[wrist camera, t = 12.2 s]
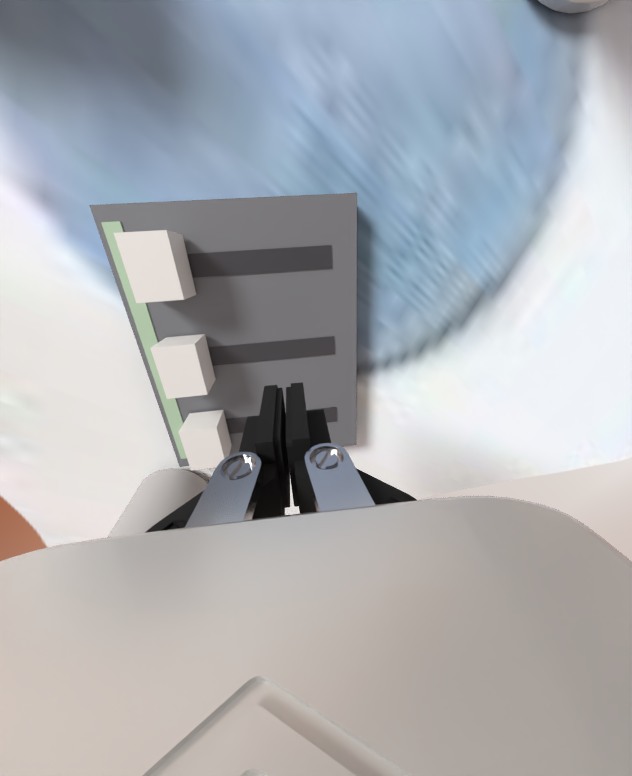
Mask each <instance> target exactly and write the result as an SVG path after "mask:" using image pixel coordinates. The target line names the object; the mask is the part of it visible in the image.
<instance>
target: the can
mask: <svg viewBox="0 0 632 776" xmlns="http://www.w3.org/2000/svg"><path fill="white" fill-rule="evenodd" d="M206 486H207V483H206V482H205V480H204V479H203V478H201V477H200V476H198V475H197V474H195V473H193V472H191V471H188V470H185V469H173V468H170V469H163V470H159V471H156V472H154V473H152V474H150V475H149V476H148V477H146V478H145V479H144V480H143V481H142V483H141V485H140V486H139V488H138V489H137V491H136V493H135V494H134V496H133V497H132V499H131V500H130V502H129V504H128V505H127V507H126V508H125V510H124V512H123V513H122V515H121V516H120V518H119V520H118V521H117V523H116V524H115V526H114V528H113V529H112V531H111V532H110V534H109V536H108V537H116V536H124V535H131V534H139V533H145V532H146V531H147V530H148V529H150V528H151V527H152V526H153V525H155V524H156V523H157V522H159V521H160V520H162V519H163V518H165V517H166V516H167V515H169V514H170V513H172V512H173V511H175V510H176V509H178V508H179V507H180V506H182V505H183V504H185V503H186V502H188V501H189V500H190V499H192V498H193V497H195V496H196V495H198V494H199V493H201V492H202V491H203V490H205V488H206ZM108 537H107V538H108Z"/></svg>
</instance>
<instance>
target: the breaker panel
mask: <svg viewBox="0 0 632 776" xmlns="http://www.w3.org/2000/svg"><path fill="white" fill-rule="evenodd" d="M90 208H91V211H92V214H93V217H94V220H95V222H96V225H97V228H98V231H99V234H100V237H101V240H102V243H103V246H104V249H105V251H106V254H107V257H108V260H109V263H110V266H111V269H112V272H113V275H114V277H115V280H116V283H117V286H118V289H119V292H120V295H121V298H122V301H123V304H124V306H125V309H126V312H127V315H128V318H129V321H130V324H131V327H132V330H133V332H134V335H135V338H136V341H137V344H138V347H139V350H140V353H141V356H142V359H143V361H144V364H145V367H146V370H147V373H148V376H149V379H150V382H151V385H152V387H153V390H154V393H155V396H156V399H157V402H158V405H159V408H160V411H161V414H162V416H163V419H164V422H165V425H166V428H167V431H168V434H169V437H170V440H171V442H172V445H173V448H174V451H175V454H176V457H177V460H178V463H179V466H180V467H182V466H190V469H191V471H192V470H200V469H208V468H216V467H217V466H218V464H219V463H220V462H221V461H222V460H223V459H225V458H226V457H228V456H230V455H232V454H235V453H238V452H239V449H240V445H241V440H242V436H243V432H244V428H245V424H246V420H247V417H248V416H258V415H259V414H260V408H261V402H262V397H263V391H264V386H268V385H277V386H278V388H282V389H283V396H284V404H285V412H286V387H291V383H301V382H303V387H304V395H305V403H306V411H310V410H320V409H324V413H325V417H326V422H327V426H328V430H329V435H330V439H331V443H332V444H336V445H339V446H349V445H356V370H357V193H345V194H324V195H302V196H280V197H258V198H236V199H214V200H192V201H171V202H149V203H127V204H105V205H90ZM199 334H205V336H206V340H207V345H208V349H209V353H210V358H211V362H212V366H213V370H214V375H215V379H216V380H215V382H214V384H213V385H212V387H211V389H210V391H209V393H208V395H200V396H190V397H181V398H171V399H167V398H166V395H165V392H164V389H163V385H162V382H161V379H160V376H159V373H158V370H157V367H156V364H155V361H154V358H153V355H152V352H151V349H150V348H151V347H152V346H154V345H155V344H157V343H159V342H160V341H162V340H163V339H165V338H166V337H176V336H188V335H199Z"/></svg>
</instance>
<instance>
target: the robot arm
mask: <svg viewBox="0 0 632 776" xmlns="http://www.w3.org/2000/svg"><path fill="white" fill-rule="evenodd" d="M538 1H539V2H540V3H541V4H543V5H545V6H547V7H549V8H551V9H552V10H554V11H559V12H565V13H570V14H571V13H578V12H586V11H589V10H592V9H594V8H596V7H599V6H601V5H604V4H606V3H607V2H608V1H610V0H538ZM290 477H291V485H292V492H293V500H294V506H299V509H300V514H294V515H285V508H286V507H290ZM0 776H632V562H631V561H630V560H629V559H628V558H626V557H625V556H624V555H623V554H622V553H620V552H619V551H618V550H617V549H615V548H614V547H613V546H612V545H610V544H609V543H608V542H607V541H606V540H604V539H603V538H602V537H601V536H599V535H598V534H596V533H595V532H594V531H593V530H591V529H590V528H588V527H587V526H585V525H584V524H583V523H581V522H580V521H578V520H576V519H575V518H573V517H571V516H569V515H568V514H565V513H563V512H561V511H559V510H557V509H553V508H550V507H547V506H544V505H541V504H537V503H533V502H528V501H523V500H518V499H513V498H505V497H493V496H463V497H450V498H437V499H426V500H416V499H415V498H413V497H412V496H410V495H408V494H406V493H404V492H402V491H400V490H398V489H396V488H394V487H392V486H390V485H388V484H386V483H384V482H382V481H380V480H378V479H376V478H374V477H372V476H370V475H368V474H366V473H364V472H362V471H360V470H358V469H356V468H355V466H354V464H353V462H352V460H351V458H350V457H349V455H348V453H347V452H346V450H345V449H344V448H342V447H341V446H339V445H336V444H332V443H331V439H330V435H329V430H328V426H327V422H326V417H325V413H324V409H320V410H310V411H306V403H305V395H304V387H303V382H301V383H291V387H286V412H285V404H284V396H283V389H282V388H278V386H277V385H268V386H264V391H263V397H262V402H261V408H260V414H259V415H258V416H248V417H247V420H246V424H245V428H244V432H243V436H242V440H241V445H240V449H239V452H238V453H235V454H232V455H230V456H228V457H226V458H225V459H223V460H222V461H221V462H220V463H219V464H218V466H217V467H216V469H215V471H214V473H213V475H212V477H211V479H210V481H209V482H208V484H207V486H206V488H205V490H203V491H202V492H201V493H199V494H198V495H196V496H195V497H193V498H192V499H190V500H189V501H188V502H186V503H185V504H183V505H182V506H180V507H179V508H178V509H176V510H175V511H173V512H172V513H170V514H169V515H167V516H166V517H165V518H163V519H162V520H160V521H159V522H157V523H156V524H155V525H153V526H152V527H151V528H150V529H148V530H147V531H146V532H145V533H139V534H131V535H124V536H116V537H108V538H101V539H95V540H89V541H82V542H76V543H70V544H64V545H57V546H53V547H49V548H44V549H40V550H36V551H32V552H28V553H25V554H22V555H19V556H15V557H12V558H9V559H6V560H3V561H0Z"/></svg>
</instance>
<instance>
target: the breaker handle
mask: <svg viewBox="0 0 632 776" xmlns="http://www.w3.org/2000/svg"><path fill="white" fill-rule="evenodd" d="M150 349H151V352H152V355H153V358H154V361H155V364H156V367H157V370H158V373H159V376H160V379H161V382H162V385H163V389H164V392H165V395H166V398H167V399H171V398H181V397H190V396H200V395H208V393H209V391H210V389H211V387H212V385H213V384H214V382H215V380H216V379H215V375H214V370H213V366H212V362H211V358H210V353H209V349H208V345H207V340H206V336H205V334H199V335H188V336H176V337H166V338H165V339H163V340H162V341H160V342H159V343H157V344H155V345H154V346H152V347H151V348H150Z"/></svg>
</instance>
